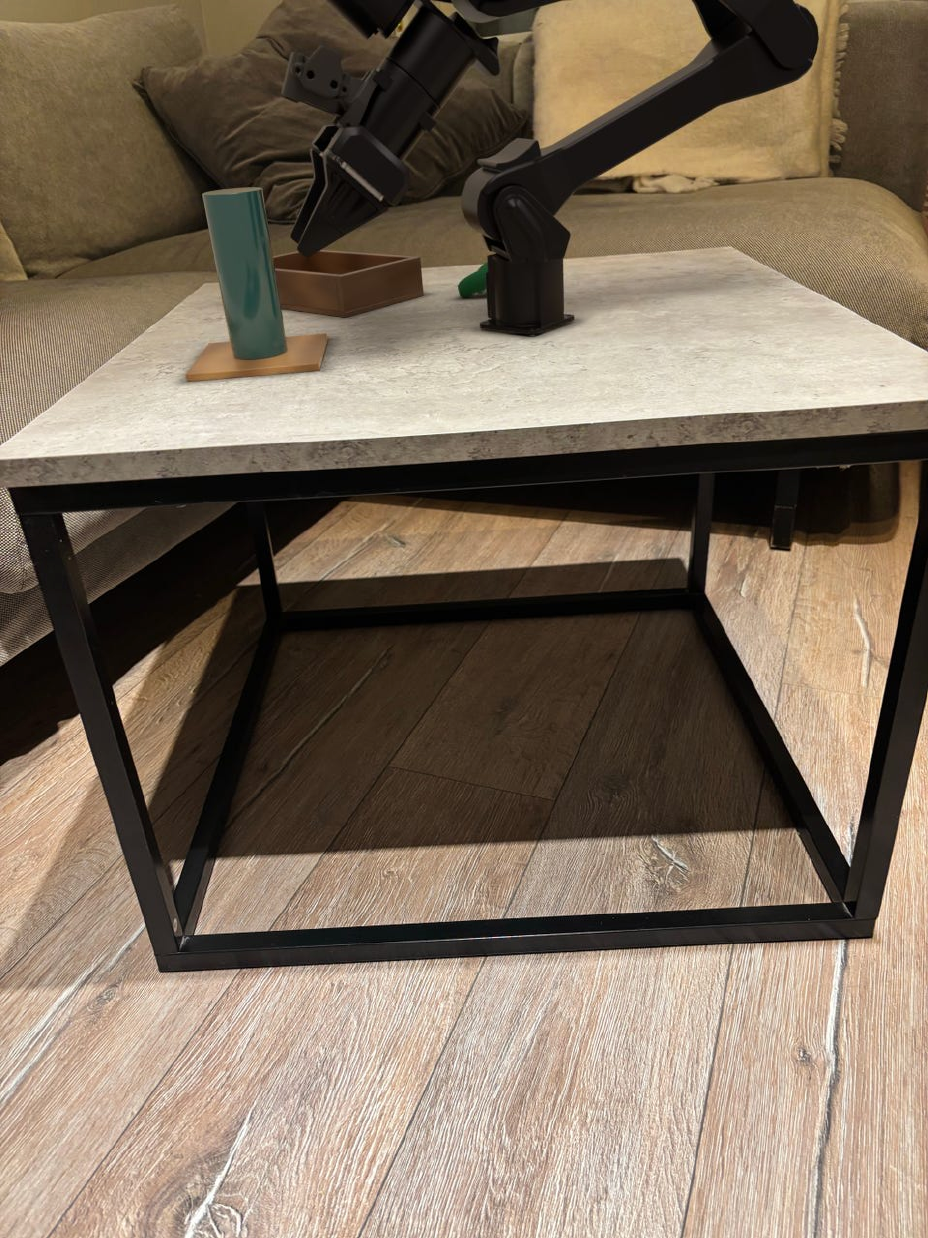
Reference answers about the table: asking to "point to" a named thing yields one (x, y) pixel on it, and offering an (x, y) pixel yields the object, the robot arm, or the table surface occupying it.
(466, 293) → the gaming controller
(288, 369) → the mat
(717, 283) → the table surface
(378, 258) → the basket
